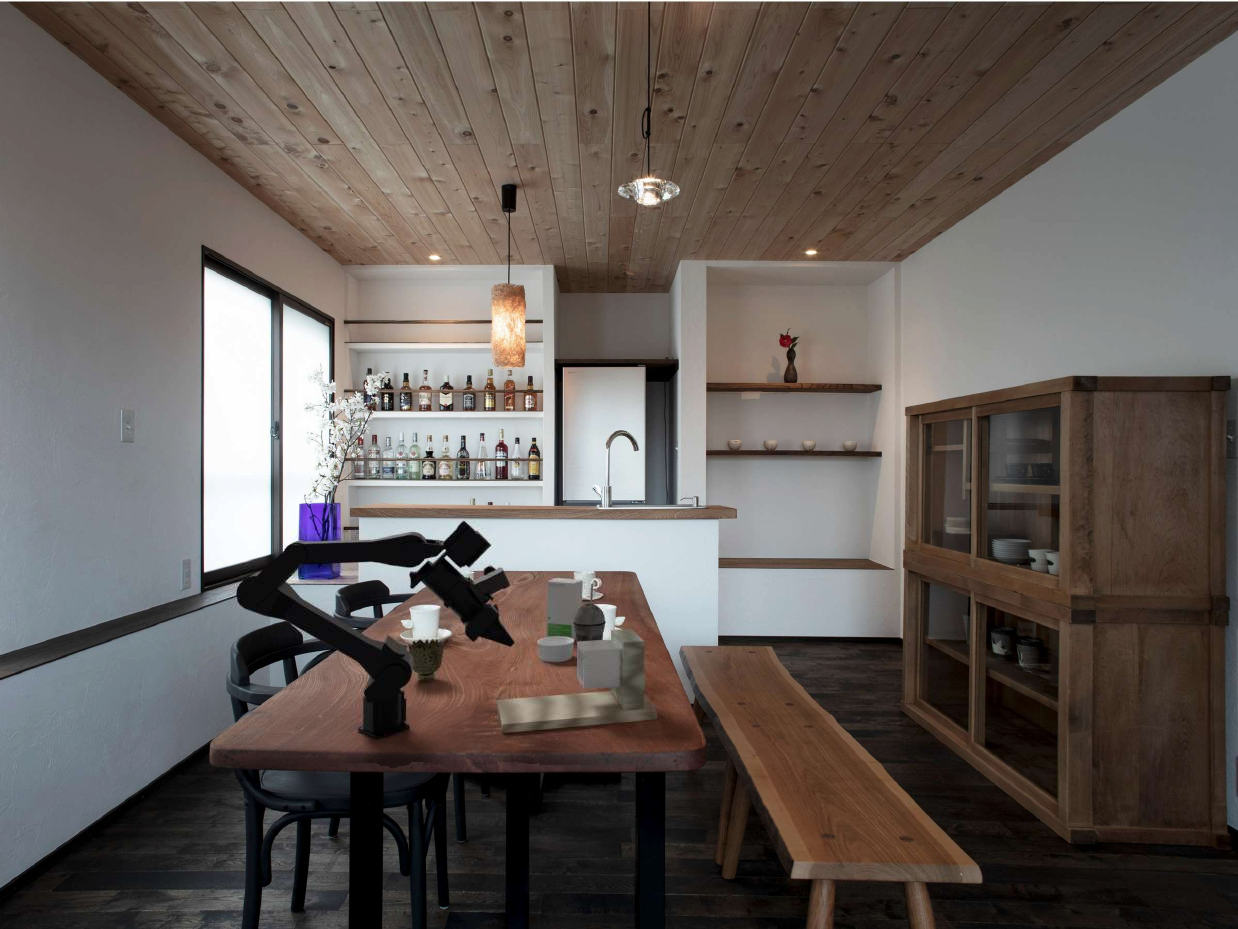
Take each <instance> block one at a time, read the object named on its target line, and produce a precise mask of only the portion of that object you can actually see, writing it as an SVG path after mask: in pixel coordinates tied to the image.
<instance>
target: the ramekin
mask: <svg viewBox="0 0 1238 929" xmlns="http://www.w3.org/2000/svg"><path fill="white" fill-rule="evenodd" d="M536 644H537V645H538V656H539V659H540V660H541V661H542V662H545V663H562V662H567V661H569V660H571V659H572V658H573V655H574V644H575V640H574V639H572V638H569V637H561V636H556V637H546V636H545V637H542V638H540V639H538V640H537V643H536Z"/></svg>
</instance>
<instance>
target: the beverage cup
mask: <svg viewBox="0 0 1238 929" xmlns="http://www.w3.org/2000/svg"><path fill="white" fill-rule="evenodd" d="M593 593H594V583H591V584H590V596H589V603H585V604H582V606H581V607H580V608H579V609H578V610H577V612H576V614H575V617H574V622H573V624H574V629H575V632H576V640H575V644H576V645H577V642H578V641H595V640H604V632H605V627H606V617H605V613H604V611H603V610H602V608H601V607H599V606H598V605H597V604H594V603H593V596H594V594H593Z"/></svg>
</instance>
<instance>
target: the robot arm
mask: <svg viewBox="0 0 1238 929" xmlns="http://www.w3.org/2000/svg"><path fill="white" fill-rule="evenodd" d="M491 546H492V544H491V543H490V542H489V541H488V539H486V537H484V536H483V534H481V533H480V532H479V531H478V530H475V528H473V526H471V525H470V524H469V523H467V521H465V520H462V521H461V522H460V523H459V524H458V526H457V527H456V528H455V530H453V532H451V533H450V535H449V536H447V537H446V538H445V540H440V539H431V538H430V539H429V538H426V537H425V536H423V535H422V534H421V533H420V532H417V531H408V532H402V533H398V534H394V535H389V536H385V537H380V538H374V539H354V540H353V539H351V540H349V539H348V540H323V541H321V540H320V541H319V540H317V541H315V540H313V541H305V540H303V539H302V540H301V539H300V540H296V541H293V542H292V543H290V544H288V545H287V546H286V547H285V548H284V550H283V551H282V552H281V553H280V554H278V556H276V558H274V559H273V560H272V561H271V562H270V563H269V564H268V565H267V566H265V568H263V569H262V570H260V571H258V572H255V573H254V574H253V573H252V574H251V575H249V576H248V577H246V578H244V579H243V580H241V582H240V583H239V584H238V586H237V588H236V593H235V595H236V600H237V601H236V602H237V603H238V605H239V606H240V607H242V608H243V609H244V610H246V611H250V612H252V613H255V614H258V615H261V616H263V617H267V618H273V619H278V620H283V621H285V622H287V623H289V624H291V625H292V626H294V627H296V629H297V628H298V629H299V630H300V631H302V632H305V633H306V634H308V635H310V636H311V637H313V638H315V639H317V640H318V641H320V642H322V643H324V644H326V645H328V647H331V648H333V650H336V651H338V652H339V653H341V654H343V655H345V656H346V657H348V658H350V659H352V660H353V661H355V662H357V663H358V664H359V665H360V666H361V667H362V668H363V670H364V671H365V672H366V674H367V675H368V676H369V677H368V680H367V682H366V685H365V688H364V690H363V695H362V725H360V726H358V727H357V731H359V732H361V733H364V734H366V735H369V736H370V737H373V738H375V739H380V738H383V737H387V736H390V735H393V734H396V733H399V732H401V731H404V730H406V729H407V730H408V729H410V726H411V724H410V723H407V698H406V697H405V690H402V689H403V688H404V687H406V685H407V684H409V682H410V681H411V679H412V675H413V672H414V670H413V665H414V661H413V657H412V655H411V653H410V652H409V649H408V645H407V644H402V643H399V642H398V641H396V639H394V638H393V637H392V636H390V635H386V637H385V639H384V641H381V640H377V639H376V640H375V639H373V638H371V637H368V636H367V635H365V634H364V633H362V632H360V631H358V630H357V629H354V628H353V627H351V626H350V625H348V624H346V623H345V622H343V621H341V620H339V619H338V618H336V617H334V616H333V615H331V614H329V613H328V612H326V611H324V610H322V609H321V608H319V607H317V606H315V605H313V604H312V603H310V602H308V601H307V600H305V599H303V598H302V597H301V596H300V595H299V594H298V593H297V591H296V590H295V589H294V588H293V587H292V586H291V584H289V583H288V582H287V581H288V580H289V579H290V578H291V577H292V576H293V575H294V574H295V573H296V572H297V571H298V570H299V569H300V568H301V566H303V565H322V564H323V565H325V564H326V565H329V564H352V563H353V564H354V563H376V564H377V563H378V564H382V565H387V566H392V567H399V568H400V567H401V568H407V569H409V568H417V567H418V566H420V565H421V564H422V563H423V562H424V561H425V560H427V559H428V560H427V561H426V562H425V563H424V564H423V565H422V566H421V567H420V568H419V569H417V570H416V571H413V570H411V571H409V574H408V576H409V579H410V580H409V582H410V585H409V587H410V590H411V589H412V590H413V589H416V587H417V586H418V585H419V584H420V583H422V584H423V585H424V586H425V587H426V588H427V589H429V591H431V592H432V593H433V594H434V595H435V596H436V597H437V598H438V599H439V600H440V601H441V602H442V605H443V606H444V607H445V608H447V609H450V610H451V611H452V612H453V613H454V614H456V615H457V616H458V617H459V619H460V620H459V621H460V622H461V623H462V624H463V625H464V634H465V636H466V637H467V638H468V639H470V641H472V642H473V643H474V642H475V641H477V640H478V639H479V638H481V639H482V638H483V639H485V640H489V641H491V642H494V643H498V644H499V645H500V644H501V645H503V646H507V647H509V648H511V647H512V646H513V645H515V640H514V638H513V637H512V636H511V634H510V633H509V632H508V630H507V629H506V627H505V626H504V624H503V622H501V620H500V610H499V607H498V604H497V603H495V604H494V605H492V604H491V603H488V602H490V601H492V602H493V600H494V599H495V597H494V594H495V593H497V592H500V591H502V590H505V589H507V588H509V587H511V583H510V580H509V579H508V577H507V575H506V573H505V571H504V568H503V567H497V568H495V567H494V566H493V565H491V564H490V565H488V566H485V567H484V568H483V575H482V576H479V577H478V578H476V579H472V578H471V577H469V576H468V577H467V576H464V575H463V574H462V572H460V571H459V570H458V569H457V568H456V567H455V566H454V565H453V564H452V563H451V562H450V561H448V559H446V557H447V558H449V560H451V561H452V562H453V563H454V564H455V565H456V566H457V567H458V568H460V569H462V568H465V567H467V568H471V567H472V566H473V565H474V564H475V563H476V561H478V559H480V558H481V557H482V556H483V554H485V553H486V551H488V550H489V548H491ZM444 550H445V551H444ZM443 551H444V552H443ZM442 552H443V553H442ZM441 553H442V554H441ZM439 555H440V556H439ZM438 556H439V557H438ZM436 557H438V558H437V559H436V560H434V561H433V562H432V561H431V560H429V559H432V558H436Z"/></svg>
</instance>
